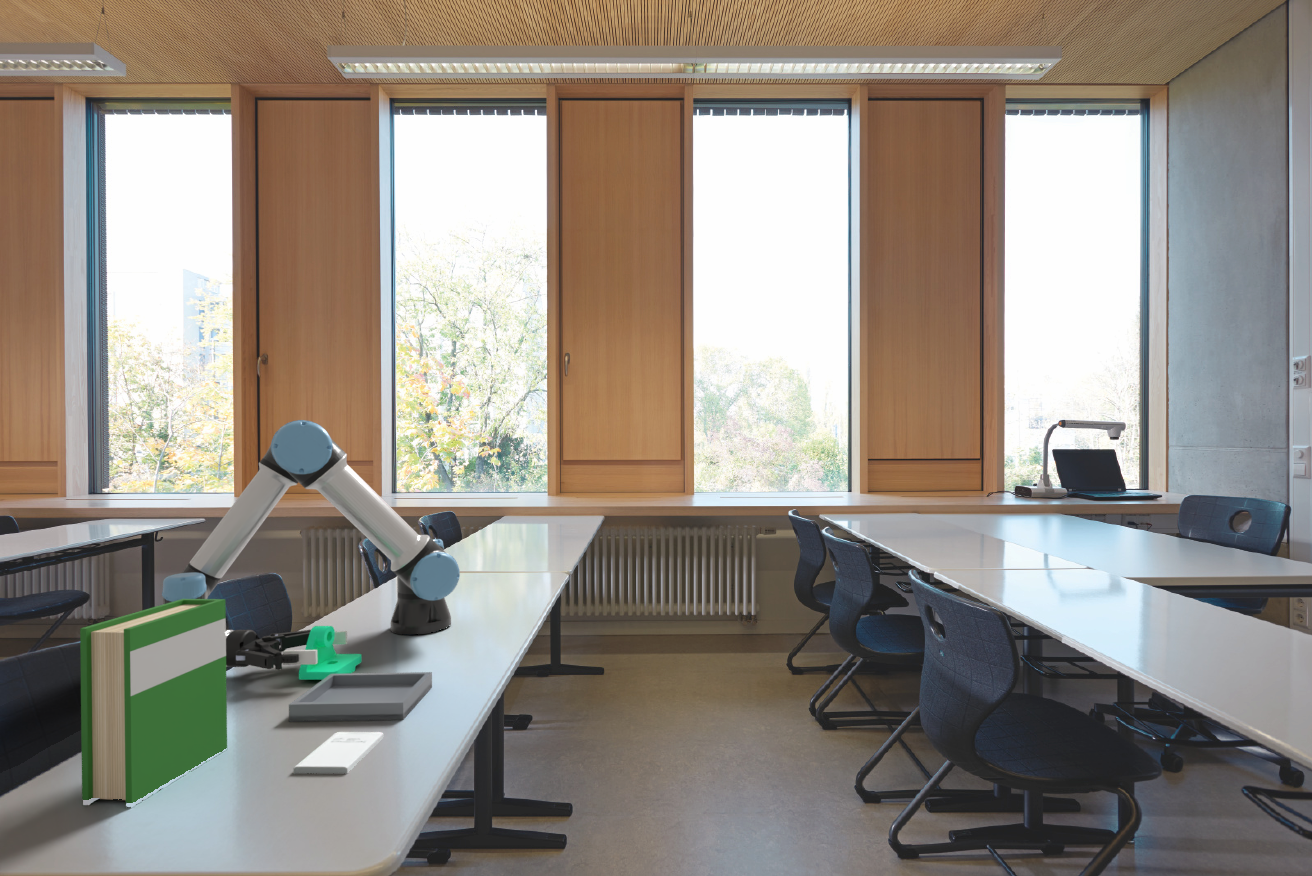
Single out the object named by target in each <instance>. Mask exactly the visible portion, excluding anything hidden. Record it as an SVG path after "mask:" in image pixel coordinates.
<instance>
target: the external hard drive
mask: <svg viewBox="0 0 1312 876" xmlns="http://www.w3.org/2000/svg"><path fill="white" fill-rule="evenodd" d="M384 735H385V734H384V733H383V732H381V731H372V732H371V731H338V732H335V733H333V734H332V735H331V736H330V737H328V738H327V739H326V740H324V742H322V743H321V744H320V745H319V746H318V747H317V748H315V749H314V750H313V751H311V752H310V753H309V754H308V755H307V756H305V758H304V759H303V758H302V760H301V761H300V762H299V763H297V764H296V765H295V766H294V767H293V769H292V772H294V773H293V774H307V773H309V774H310V773H312V774H313V773H314V774H315V775H317V774H322V775H324V774H327V775H328V774H331V775H332V774H333V773H334V774H335V775H338V774H339V775H340V774H342V775H343V774H344V773H345V775H346V774H349V773H350V772H351V771H352V770H353V769H354V768H355V767H356V766H357V765H358V764H359V763H360V762H361V761H362V760H363V759H364V758H365V757H366V756H367V755H368V754H369V753H370V752H371V751H372V750H373V749H374V748H375V747H376V746H377V745H378V744H379V743H380V742H381V741H382V740H383V739H384ZM362 758H363V759H362ZM359 761H360V762H359ZM358 762H359V763H358ZM357 763H358V764H357ZM354 766H355V767H354ZM350 770H351V771H350ZM349 771H350V772H349ZM316 773H317V774H316ZM312 774H311V775H312ZM314 774H313V775H314Z"/></svg>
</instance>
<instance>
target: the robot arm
mask: <svg viewBox="0 0 1312 876" xmlns="http://www.w3.org/2000/svg"><path fill="white" fill-rule="evenodd" d="M347 457H348V453H346V451H344V450H343V449H342V447H340V446H339V444H337V443H336V442H335V440H334V439H332V437H331V435H330V434H329V432H328V431H327V430H326V429H325V428H324V427H323V426H322V425H320V424H318V423H316V422H314V421H311V420H307V419H305V420H304V419H298V420H293V421H289V422H287V423H284V424H283V426H280V428H278V429H277V431H275V433H274V435H273V437H272V439H271V443H270V445H269V447H268V449H267V451H266V453H265V454H264V456H263V457H262V459H261V460H260V461H259V462H258V466H259V467H258V471H257V473H256V474H255V476H254V477H253V478H252V479H251V481H250V482H249V483H248V484H247V485H246V487H245V488H244V490H242V492H241V494H240V495H239V496H238V498H237V499H236V500H235V502H234V503H233V505H232V506H230V508H229V509H228V511H227V512H226V513H225V515H224V516H223V517H222V518H221V520H220V521H219V523H218V524H216V525H217V526H215V528H214V529H213V530H212V532H211V533H210V534H209V535H208V537H207V538H206V540H205V541H204V542H203V543H202V545H201V546H200V547H199V549H198V551H196V553H195V555H193V557H192V559H191V560H190V561H189V563H188V564H187V565H186V566H185V567H184V569H183V570H182V572H181V573H174V574H172V575H168V576H167V577H165V578H164V579H163V582H162V592H161V596H162V605H163V604H167V603H170V602H174V601H177V600H181V599H209V596H210V595H211V594H212V593H213V591H214V589H215V588H216V586H218V584H219V583H220V581H221V579H222V578H223V577H224V575H225V574H226V573H227V571H228V570H229V568H230V567H231V566H232V565H233V563H234V562H235V561H236V559H237V558H238V557H239V555H240V554H241V553H242V551H243V550H244V549H245V547H246V546H247V544H248V543H249V542H250V540H251V539H252V538H253V537H254V535H255V533H257V531H258V530H259V528H260V527H261V526H262V525H263V523H264V522H265V520H266V519H267V518H268V516H269V515H270V514H271V513H272V511H273V509H275V507H276V506H277V504H278V503H279V502H280V500H281V499H282V498H283V496H284V495H285V494H286V492H287V491H288V490H289V488H290V487H292V486H297V485H298V483H299V484H300V485H301V486H302V487H303V488H304V489H305V490H316V491H317V492H318V493H319V494H321V495H322V497H324V498H325V499H326V500H327V501H328V502H329V503H330V504H331V505H332V506H333V507H334V508H335V509H336V510H338V512H340V513H341V514H342V515H343V516H344V517H345V519H347V520H348V521H349V522H350V523H351V524H352V525H353V526H354V527H355V528H356V529H358V531H359V532H360V533H361V534H363V536H365V537H366V538H367V539H368V540H369V541H370V542H371V543H372V544H373V545H374V546H375V547H376V548H377V549H378V550H379V551H380V552H381V553H382V554H383V555H385V556H386V557H387V559H389V560H390V563H391V564H390V570H391V571H392V572H393V573H394V574H395V575H396V579H397V580H396V582H397V584H396V589H397V590H396V592H397V593H396V594H397V598H396V599H397V600H396V604H395V607H394V609H393V613H392V616H391V619H390V632H391V631H392V633H393V634H397V635H402V634H418V635H424V634H425V635H427V634H432V633H431V632H433V633H436V632H435V631H437V632H439V631H438V630H440V629H444V630H446V629H447V628H446V627H448V626H449V625H451V626H452V615H451V612H450V610H449V606H448V603H447V602H446V597H448V596H450V594H451V593H452V592H453V591H454V590H455V589H456V588H457V586H458V584H459V581H460V576H461V572H460V566H459V564H458V561H457V559H455V557H454V556H452V555H451V554H449V553H447V552H446V551H445V547H444V541H443V540H442V539H441V538H436V539H433V538H432V537H431V536H430V535H428V534H418V533H417V531H415V529H413V527H412V526H410V525H409V524H408V522H406V521H405V520H404V519H403V517H401V515H399V514H398V513H397V511H395V510H394V509H393V508H392V507H391V506H390V504H388V503H387V502H386V501H385V500H384V499H383V498H382V497H381V496H380V494H378V493H377V492H376V491H375V490H374V489H373V488H372V487H371V486H370V484H368V483H367V482H366V481H365V480H364V479H363V478H362V477H361V476H360V475H359V474H358V473H357V472H356V471H355V470H353V468H352V467H351V466H349V465H348V461H347V459H348V458H347ZM445 628H446V629H445ZM448 628H449V627H448ZM310 631H311V629H305V630H304V629H303V630H297V631H289V632H281V633H280V632H278V633H277V632H275V633H274V632H273V633H270V634H269V635H265V636H262V637H261V638H260V637H259V636H258V634H257V633H256V631H254V630H252V629H236V630H233V629H226V668H228V667H229V668H247V667H249V666H251V667H257V668H262V669H266V670H271V669H275V671H276V670H278V671H279V670H282V668H283V666H282V665H284V666H287V665H289V666H291V665H297V666H299V665H300V666H301V665H302V664H317V663H318V659H317V650H305V649H291V648H297V647H302V646H306V645H307V641H308V638H309V634H310ZM347 644H348V630H342V631H340V630H339V631H337V630H335V638H334V641H333V644H332V645H333V646H334V645H347Z"/></svg>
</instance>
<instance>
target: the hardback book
mask: <svg viewBox="0 0 1312 876" xmlns="http://www.w3.org/2000/svg"><path fill="white" fill-rule="evenodd" d="M226 606H227V605H226V599H223V598H207V599H181V600H177V601H174V602H170V603H167V604H163V603H162V604H160V605H157V606H152V607H150V608H147V609H143V610H140V611H136V612H134V613H129V614H126V615H122V616H119V617H116V618H112V619H109V620H108V619H107V620H105V621H101V622H98V623H94V624H91V625H88V626H87V625H86V626H84V627H81V628H79V629H80V631H79V636H80V639H79V640H80V643H79V644H80V645H79V646H80V647H79V648H80V705H81V706H80V715H81V717H80V723H81V724H80V730H81V731H80V734H81V735H80V737H81V744H80V745H81V800H82V799H83V800H89V799H91V798H100V800H113V799H118V800H117V801H120V800H119V799H122V800H121V801H125V803H126V802H127V803H133V802H136V801H137V800H138V799H140V798H143V797H144V796H146V795H147V794H148V793H151V792H153V791H154V790H155V789H158V788H159V787H160V786H162V785H164V784H166V783H168V782H169V781H170V780H172V779H175V778H176V777H178V776H180V775H182V774H184V773H185V772H186V771H188V770H191V769H192V768H194V767H195V766H198V765H199V764H201V762H203V761H206V760H207V759H208V758H210V757H212V756H214V755H215V754H217V753H219V752H222V751H223V750H224V749H226V748H227V749H228V717H227V716H228V710H227V708H228V706H227V705H228V704H227V702H228V700H227V698H228V697H227V696H228V695H227V694H228V693H227V667H226V630H227V623H226V621H227V620H226V619H227V618H226V616H227V615H226V614H227V613H226ZM222 753H223V752H222Z"/></svg>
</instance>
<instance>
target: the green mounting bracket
mask: <svg viewBox="0 0 1312 876" xmlns="http://www.w3.org/2000/svg"><path fill="white" fill-rule="evenodd" d="M310 630H311V631H310V634H309V638H308V641H307V645H305V648H304V650H317V659H318V663H317V664H302V665H300V667H299V671H298V680H303V681H304V680H306V681H307V680H310V681H311V680H314V681H315V680H317V681H318V680H321V681H322V680H323V679H325V678H326V677H327V676H329V675H330V674H350V673H354V672H355V671H356V667H357V666H358V665H360V664H361V663H362V659H363V658H362V657H363V656H362V655H363V654H361V653H337V652H336V650H335V647H334V644H333V641H334V638H335V631H336V630H335V628H334V627H333V625H314V626H313V627H312V628H311V629H310ZM332 644H333V645H332Z"/></svg>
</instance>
